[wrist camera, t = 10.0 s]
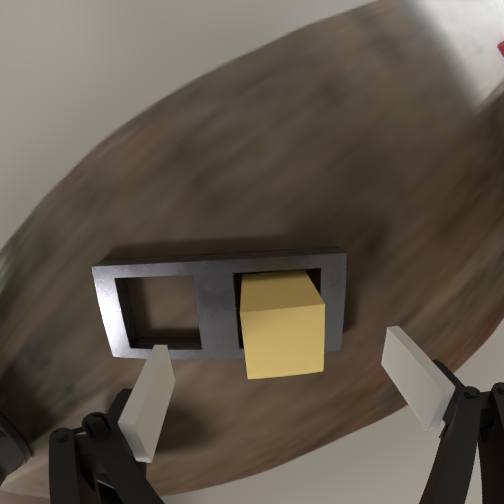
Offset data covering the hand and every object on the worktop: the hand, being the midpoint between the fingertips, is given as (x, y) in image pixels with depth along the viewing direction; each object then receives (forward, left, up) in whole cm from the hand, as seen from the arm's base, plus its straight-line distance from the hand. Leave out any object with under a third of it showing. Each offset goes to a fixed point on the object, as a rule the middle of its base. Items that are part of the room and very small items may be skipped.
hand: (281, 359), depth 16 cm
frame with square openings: (-4, 0, -8) cm, 9 cm away
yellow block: (0, 0, -8) cm, 9 cm away
